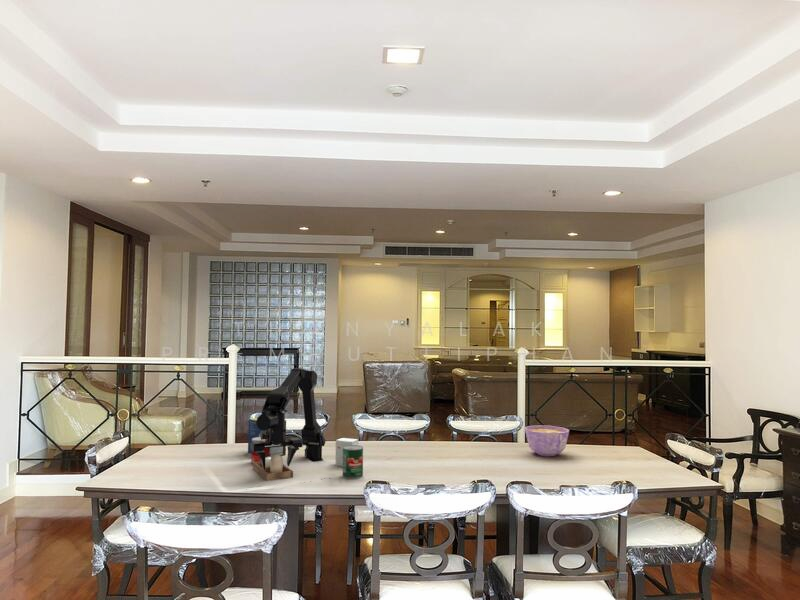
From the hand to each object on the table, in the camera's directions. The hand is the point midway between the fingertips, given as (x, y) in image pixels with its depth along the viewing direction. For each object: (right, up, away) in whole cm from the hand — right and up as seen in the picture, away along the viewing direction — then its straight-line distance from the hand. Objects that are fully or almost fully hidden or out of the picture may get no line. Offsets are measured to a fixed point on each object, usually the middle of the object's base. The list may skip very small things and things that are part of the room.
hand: (276, 467), depth 209 cm
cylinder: (0, -3, 0) cm, 3 cm away
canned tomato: (+28, -5, +5) cm, 29 cm away
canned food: (-11, -5, +20) cm, 23 cm away
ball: (-5, -3, +8) cm, 10 cm away
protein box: (-14, -7, +41) cm, 44 cm away
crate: (-2, -4, +4) cm, 6 cm away
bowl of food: (+114, -8, +46) cm, 124 cm away
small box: (+25, -6, +22) cm, 34 cm away
